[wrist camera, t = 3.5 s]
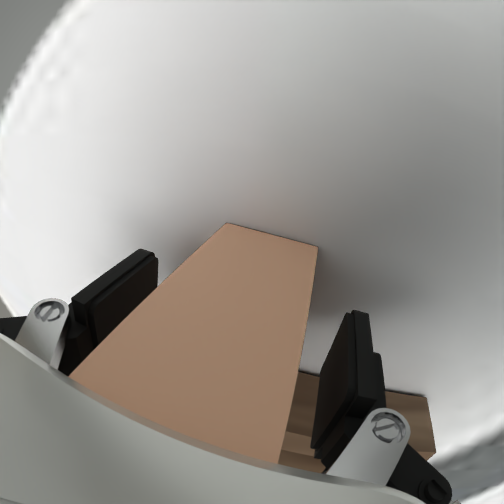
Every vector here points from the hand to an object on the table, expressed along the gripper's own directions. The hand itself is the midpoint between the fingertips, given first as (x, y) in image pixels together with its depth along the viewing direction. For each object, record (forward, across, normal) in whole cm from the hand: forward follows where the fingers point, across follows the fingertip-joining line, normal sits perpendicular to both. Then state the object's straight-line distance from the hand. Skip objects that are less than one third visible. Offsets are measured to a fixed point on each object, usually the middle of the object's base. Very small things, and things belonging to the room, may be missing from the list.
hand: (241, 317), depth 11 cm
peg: (+3, 0, 0) cm, 3 cm away
